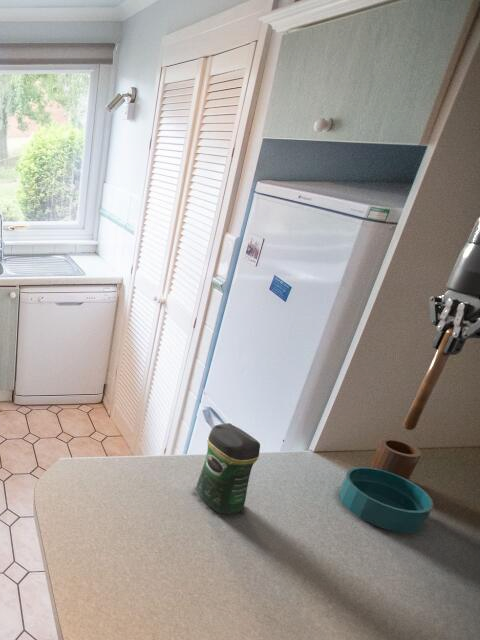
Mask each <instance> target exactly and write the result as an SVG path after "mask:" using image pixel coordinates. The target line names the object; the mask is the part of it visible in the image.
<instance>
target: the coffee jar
mask: <svg viewBox="0 0 480 640" xmlns="http://www.w3.org/2000/svg"><path fill="white" fill-rule="evenodd" d="M260 451H261V443H260V441H258V440H257V439H255V437H253V436H251V435H250V434H249V433H247V432H246V431H244V430H242V429H241V428H240V427H237V426H236V425H234V424H232V423H230V422H228V423H220V424H216V425H214V426H213V427H212V428H211V429H210V432H209V434H208V437H207V451H206V456H205V460H204V463H203V465H202V469H201V471H200V474H199V477H198V479H197V483H196V487H195V492H196V494H197V495H198V496H199V498H200V499H201V500H202V501H203V502H204V503H205V504H206V505H207V506H208V507H209V508H211V509H212V510H213V511H215V512H216V513H218V514H223V515H234V514H237V513H240V512H242V510H244V507H245V504H246V498H247V492H248V488H249V487H248V486H249V482H250V477H251V472H252V469H253V466H254V464H255V463H256V462H257V461H258V459H259V457H260Z"/></svg>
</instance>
